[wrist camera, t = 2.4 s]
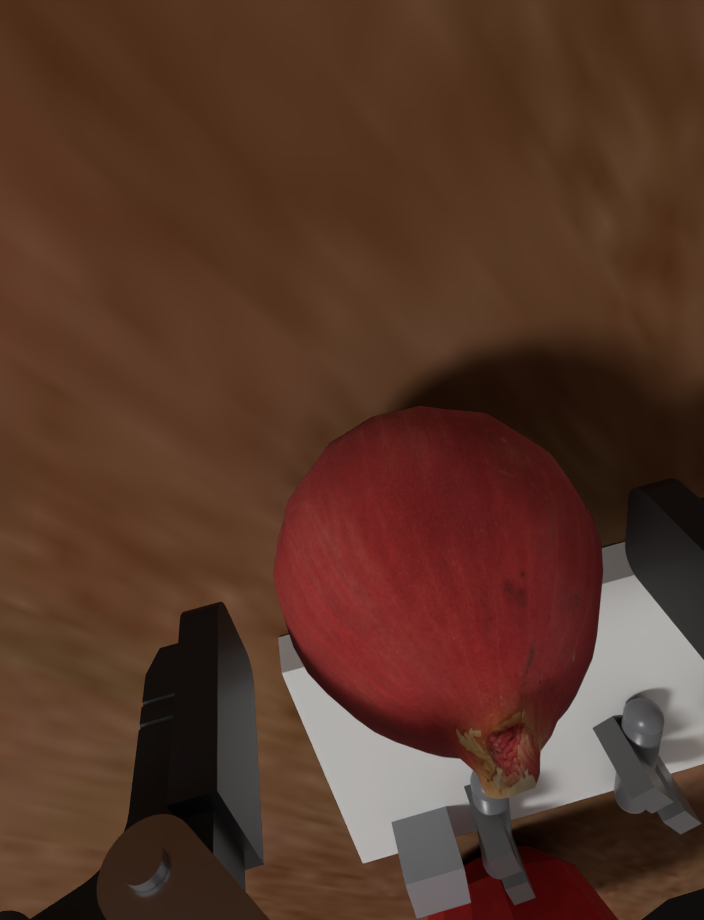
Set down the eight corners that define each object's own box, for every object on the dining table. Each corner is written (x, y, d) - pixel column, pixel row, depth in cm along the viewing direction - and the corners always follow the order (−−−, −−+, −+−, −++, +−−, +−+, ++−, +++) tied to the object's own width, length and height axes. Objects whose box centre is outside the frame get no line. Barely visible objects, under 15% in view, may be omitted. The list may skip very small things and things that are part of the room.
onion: (554, 417, 15) (827, 714, 8) (408, 577, 17) (530, 916, 10) (360, 289, 12) (530, 574, 5) (217, 498, 14) (216, 884, 8)
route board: (278, 637, 17) (291, 759, 14) (1068, 419, 18) (1234, 491, 15) (366, 853, 25) (386, 959, 22) (907, 695, 26) (995, 777, 23)
